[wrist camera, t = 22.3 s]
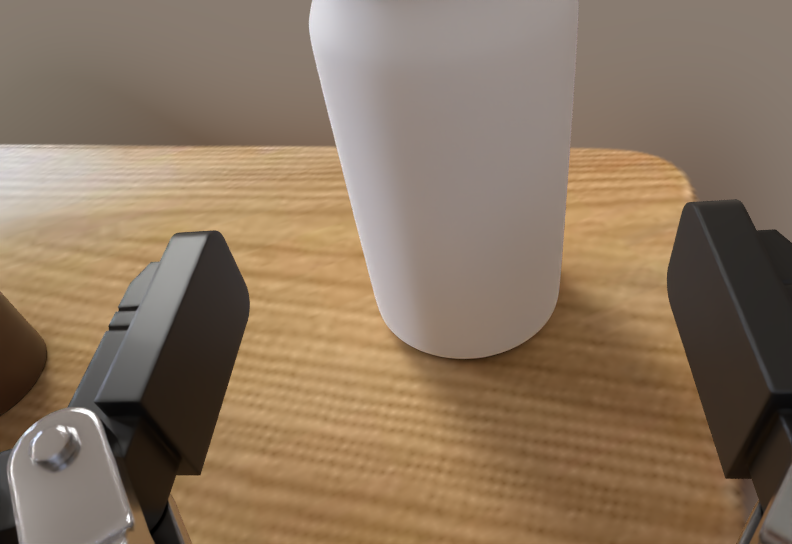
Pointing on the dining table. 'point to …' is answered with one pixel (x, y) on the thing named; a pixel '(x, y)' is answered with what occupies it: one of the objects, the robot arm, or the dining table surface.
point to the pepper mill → (17, 355)
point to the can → (454, 159)
